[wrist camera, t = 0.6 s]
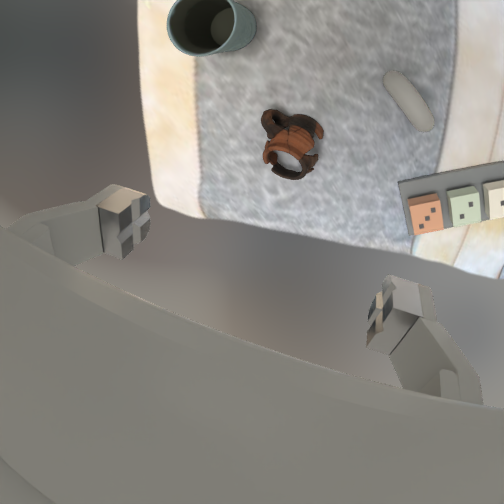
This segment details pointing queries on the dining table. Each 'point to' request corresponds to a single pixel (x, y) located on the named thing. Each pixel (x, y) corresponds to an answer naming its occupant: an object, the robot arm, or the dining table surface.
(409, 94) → the donut
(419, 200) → the terracotta tile
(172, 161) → the dining table surface
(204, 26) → the green cylindrical pot
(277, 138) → the brown rounded piece
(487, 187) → the cream tile
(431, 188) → the board
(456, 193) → the sage tile
